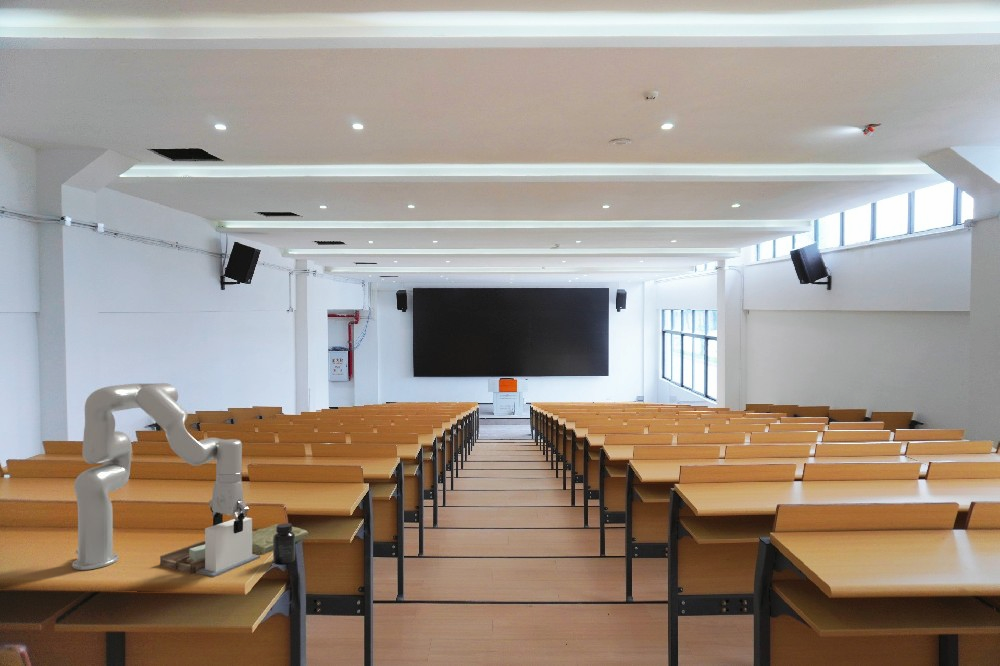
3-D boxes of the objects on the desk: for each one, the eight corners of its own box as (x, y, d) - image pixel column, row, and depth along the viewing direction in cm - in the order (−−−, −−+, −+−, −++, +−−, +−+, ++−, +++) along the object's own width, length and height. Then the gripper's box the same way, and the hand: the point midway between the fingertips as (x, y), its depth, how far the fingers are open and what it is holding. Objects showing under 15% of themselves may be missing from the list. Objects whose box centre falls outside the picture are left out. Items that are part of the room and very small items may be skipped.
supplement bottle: (275, 558, 198) (275, 522, 198) (296, 556, 200) (296, 521, 200) (271, 566, 192) (271, 529, 192) (293, 564, 193) (293, 527, 193)
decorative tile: (308, 538, 220) (308, 528, 220) (264, 555, 202) (264, 545, 202) (273, 530, 229) (273, 521, 229) (228, 547, 211) (228, 537, 211)
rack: (160, 565, 193) (160, 556, 193) (208, 547, 209) (208, 539, 209) (192, 573, 186) (192, 564, 186) (240, 554, 202) (240, 545, 202)
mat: (196, 572, 187) (196, 570, 187) (243, 553, 203) (243, 552, 203) (213, 577, 183) (213, 575, 183) (260, 557, 199) (260, 555, 199)
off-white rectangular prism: (205, 569, 188) (205, 528, 188) (241, 554, 200) (241, 516, 200) (215, 571, 186) (215, 530, 186) (252, 556, 198) (252, 518, 198)
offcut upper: (189, 557, 192) (189, 548, 192) (219, 549, 200) (219, 540, 200) (194, 560, 190) (195, 551, 190) (225, 551, 198) (225, 542, 198)
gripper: (201, 476, 194) (199, 528, 193) (237, 483, 186) (236, 537, 186) (220, 472, 200) (219, 522, 200) (256, 478, 193) (255, 530, 193)
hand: (227, 529), depth 193 cm, fingers open, 9 cm apart
